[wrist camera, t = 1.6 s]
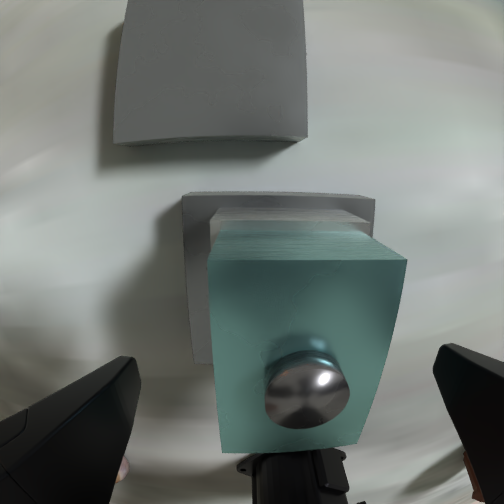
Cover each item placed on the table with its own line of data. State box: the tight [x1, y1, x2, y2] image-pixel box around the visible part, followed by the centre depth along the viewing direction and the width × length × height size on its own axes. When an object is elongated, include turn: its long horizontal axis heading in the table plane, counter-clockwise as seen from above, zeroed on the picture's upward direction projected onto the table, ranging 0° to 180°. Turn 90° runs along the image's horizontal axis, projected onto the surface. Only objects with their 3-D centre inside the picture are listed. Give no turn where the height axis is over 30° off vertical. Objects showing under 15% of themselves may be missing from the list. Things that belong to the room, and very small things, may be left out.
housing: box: [207, 208, 407, 453], centre depth 9 cm, size 7×5×7 cm
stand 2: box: [182, 192, 375, 364], centre depth 14 cm, size 8×8×2 cm
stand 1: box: [113, 0, 308, 146], centre depth 11 cm, size 8×8×2 cm
